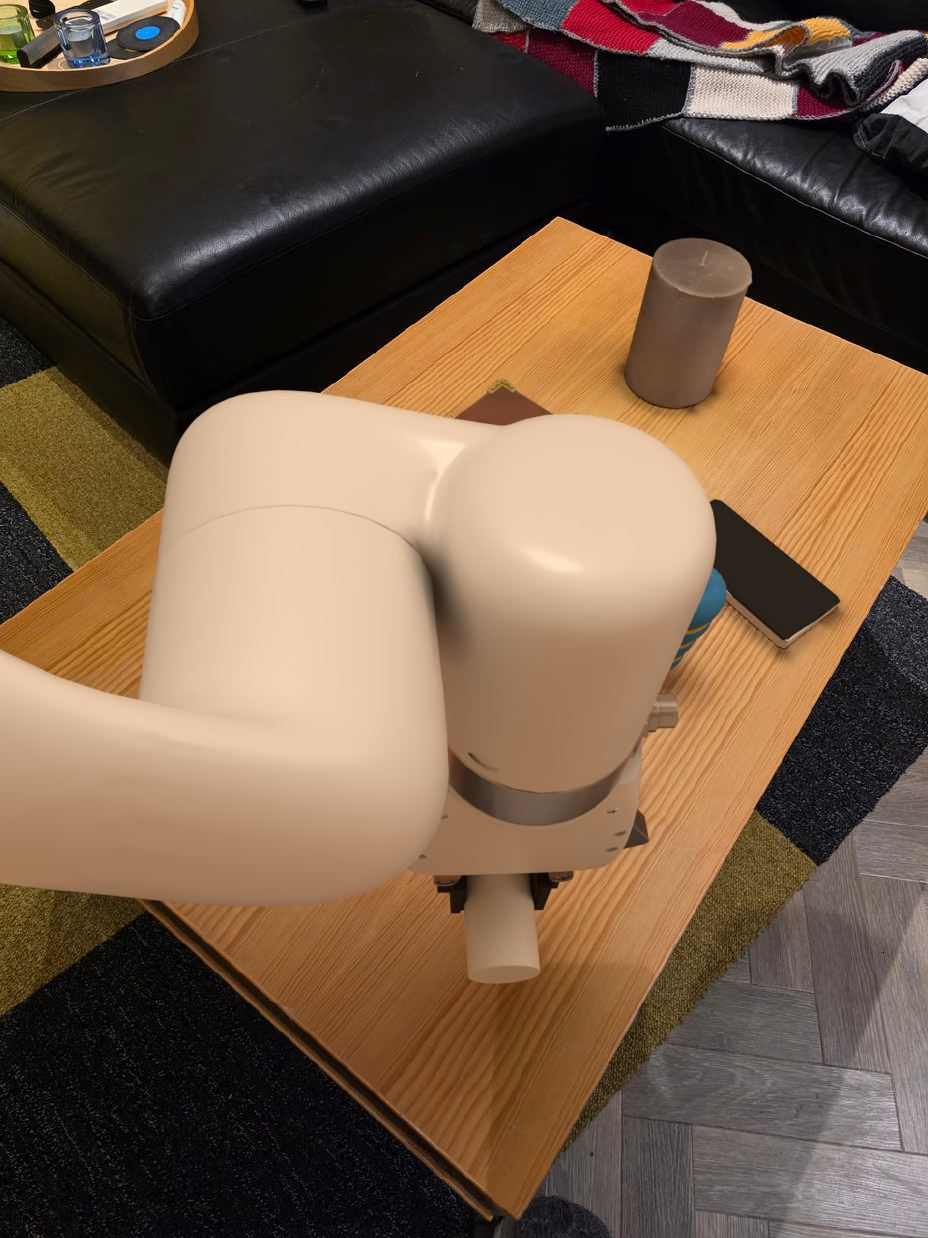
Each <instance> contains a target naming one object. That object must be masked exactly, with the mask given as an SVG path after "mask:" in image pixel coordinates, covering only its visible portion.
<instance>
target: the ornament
mask: <svg viewBox="0 0 928 1238" xmlns="http://www.w3.org/2000/svg"><path fill="white" fill-rule="evenodd" d="M726 595H727V590H726V584H725V582H724V579H723V578H722V576H721V575H720V574H719V573H718V571H717V570H716V569H714V568H712V571H711V574H710V577H709V580H708V583H707V586H706V589H705V591H704V594H703V596H702V598H701V601H700V603H699V605H698V607H697V609H696V612H695V614H694V616H693V618H692V621H691V623H690V625H689V627H688V629H687V632H686V634H685V636H684V638H683V640H682V643H681V645H680V647H679V649H678V652H677V654H676V656H675V658H674V660H673V663H672V665H671V667H670V669H669V672H670V671H671V670H673V669H674V668H676V667H677V666H678V665H679V664H680V663H681V661H682V660H683V659H684V656H685V654H686V653H688V652H689V651H690V650H692V648H693V647H694V645H695V644H696V642H697V639H699V638H700V637H702V636H703V635H704V634H705V633H706V632H707V630H708V629H709V628H710V627H711V624H712V623H713V620H714V619H715V618H716V617H718V615H719V614H720V613H721V611H722V610H723V608H724V606H725V605H726V602H727V601H726Z"/></svg>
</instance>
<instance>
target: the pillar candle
mask: <svg viewBox="0 0 928 1238" xmlns="http://www.w3.org/2000/svg"><path fill="white" fill-rule="evenodd" d="M752 276H753V271H752V269H751V265H750V263H749V262H748V260H747V259H746V258H745V257H744V256H743V255H742V254H741V252H739V251H737V250H736V249H734V248H732V247H731V246H728V245H726V244H724V243H721V242H718V241H715V240H711V239H708V238H707V239H705V238H697V237H688V238H679V239H674V240H669V241H668V242H666V243H664V244H662V245H660V246H659V247H658V248H657V249H656V250H655V252H654V255H653V256H652V261H651V265H650V269H649V271H648V277H647V280H646V284H645V288H644V292H643V297H642V300H641V302H640V303H641V304H640V307H639V311H638V314H637V320H636V323H635V327H634V330H633V335H632V339H631V342H630V347H629V351H628V354H627V359H626V363H625V367H624V379H625V382H626V384H627V385H628V387H629V389H630V390H631V391H632V392H633V393H634V394H635V395H636V396H638V397H639V398H641V399H642V400H644V401H646V402H648V403H651V404H653V405H656V406H659V407H664V408H669V409H681V408H684V407H688V406H692V405H695V404H698V403H701V402H703V401H704V400H706V398H707V397H709V396H710V395H711V392H712V390H713V387H714V385H715V382H716V379H717V376H718V374H719V371H720V369H721V366H722V363H723V360H724V358H725V355H726V352H727V351H728V347H729V344H730V341H731V338H732V336H733V332H734V329H735V326H736V324H737V323H736V322H737V320H738V317H739V314H740V312H741V308H742V306H743V303H744V300H745V297H746V295H747V292H748V289H749V286H751V284H752V283H753V278H752Z"/></svg>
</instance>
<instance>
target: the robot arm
mask: <svg viewBox="0 0 928 1238" xmlns="http://www.w3.org/2000/svg"><path fill="white" fill-rule="evenodd" d="M174 450H175V451H174V453H173V456H172V459H171V463H170V467H169V471H168V474H167V480H166V486H165V487H166V488H165V495H164V503H163V511H162V519H161V525H160V527H161V528H160V535H159V543H158V553H157V559H156V568H155V574H154V576H153V581H152V589H151V596H150V604H149V611H148V619H147V628H146V634H145V635H146V636H145V642H144V649H143V650H144V652H143V659H142V660H143V661H142V668H141V674H140V683H139V690H138V698H137V699H136V698H132V697H127V696H123V695H120V694H115V693H110V692H107V691H102V690H99V689H96V688H93V687H90V686H88V685H85V684H81V683H78V682H75V681H72V680H69V679H66V678H64V677H60V676H57V675H55V674H53V673H51V672H48V671H46V670H45V669H42V668H40V667H38V666H36V665H34V664H31V663H29V662H28V661H25V660H23V659H22V658H19V657H17V656H16V655H13V654H11V653H8V652H7V651H5V650H2V649H0V884H3V885H9V886H10V885H11V886H16V887H24V888H34V889H43V890H51V891H64V892H75V893H82V894H83V893H85V894H94V895H103V896H111V897H113V896H114V897H122V898H131V899H140V900H151V901H159V902H168V903H182V904H192V905H204V906H216V907H225V908H226V907H227V908H242V907H243V908H295V907H297V908H298V907H305V906H315V905H325V904H330V903H334V902H338V901H341V900H345V899H349V898H353V897H354V898H355V897H357V896H361V895H363V894H366V893H368V892H370V891H372V890H375V889H377V888H379V887H381V886H383V885H385V884H387V883H389V882H391V881H394V879H395V878H397V877H398V876H399V875H401V874H402V873H403V872H404V871H406V869H408V870H409V871H411V872H413V873H414V874H417V875H426V876H432V884H433V885H434V886H436V892H437V894H449V907H450V908H449V909H450V910H449V911H450V914H451V915H452V914H454V915H455V914H461V911H462V912H464V904H465V902H466V895H467V875H483V874H514V873H530V876H531V886H532V896H533V903H534V911H544V909H545V907H546V905H547V902H548V900H549V897H550V894H551V891H552V890H557V889H558V888H559V885H560V884H561V883H565V882H569V881H571V880H573V879H574V872H576V871H577V872H578V871H589V870H595V869H601V868H605V867H607V866H609V865H610V864H611V863H612V862H614V861H615V860H616V859H617V858H618V857H619V855H620V854H621V853H622V851H623V850H626V849H630V848H634V847H640V846H643V845H646V844H648V843H649V842H650V838H649V832H648V826H647V821H646V820H647V819H646V816H645V814H643V813H642V812H641V811H640V810H639V809H638V806H639V798H640V791H641V785H642V774H643V743H642V742H643V741H642V740H643V739H644V738H645V739H646V738H648V737H649V734H650V733H657V731H658V730H659V729H661V730H663V729H674V728H676V727H677V725H678V722H679V721H678V720H679V704H678V699H677V696H676V695H675V693H674V692H673V691H672V692H671V691H670V692H665V691H664V692H660V691H661V689H662V687H663V685H664V683H665V680H666V678H667V675H668V674H669V672H670V671H669V669H670V667H671V665H672V663H673V660H674V658H675V656H676V654H677V652H678V649H679V647H680V645H681V643H682V640H683V638H684V636H685V634H686V632H687V629H688V627H689V625H690V623H691V621H692V618H693V616H694V614H695V612H696V609H697V607H698V605H699V603H700V601H701V598H702V596H703V594H704V591H705V589H706V586H707V583H708V580H709V577H710V574H711V571H712V568H713V565H714V559H715V550H716V530H715V521H714V515H713V511H712V508H711V505H710V500H709V497H708V494H707V492H706V491H705V489H704V488H703V485H702V484H701V482H700V480H699V478H698V477H697V475H696V474H695V472H694V471H693V469H691V467H690V466H689V465H688V464H687V462H686V461H685V460H684V459H683V457H681V456H680V455H679V454H678V453H676V452H675V451H674V450H673V449H672V448H671V447H669V446H668V445H667V444H666V443H664V442H663V441H662V440H660V439H658V438H656V437H655V436H653V435H651V434H650V433H648V432H646V431H644V430H642V429H639V428H637V427H634V426H632V425H630V424H627V423H624V422H621V421H619V420H615V419H611V418H609V417H603V416H597V415H591V414H581V413H577V414H576V413H555V414H554V413H553V415H543V416H538V417H533V418H528V419H524V420H522V421H519V422H516V423H513V424H510V425H506V426H499V425H492V424H486V423H479V422H473V421H466V420H459V419H454V418H453V417H447V416H441V415H436V414H431V413H427V412H421V411H418V410H417V411H416V410H411V409H407V408H402V407H401V408H400V407H397V406H391V405H386V404H381V403H377V402H373V401H366V400H362V399H356V398H351V397H346V396H341V395H336V394H328V393H322V392H321V393H320V392H314V391H304V390H303V391H301V390H280V389H277V390H276V389H275V390H265V391H264V390H263V391H258V392H248V393H243V394H239V395H236V396H233V397H229V398H227V399H225V400H223V401H221V402H218V403H216V404H214V405H212V406H211V407H210V408H208V409H206V410H205V411H203V412H202V413H201V414H200V415H199V416H198V417H196V418H195V419H194V420H193V422H191V424H189V426H188V427H187V428H186V430H185V431H184V433H183V435H182V436H181V438H180V439H179V441H178V443H177V445H176V448H175V449H174Z"/></svg>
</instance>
